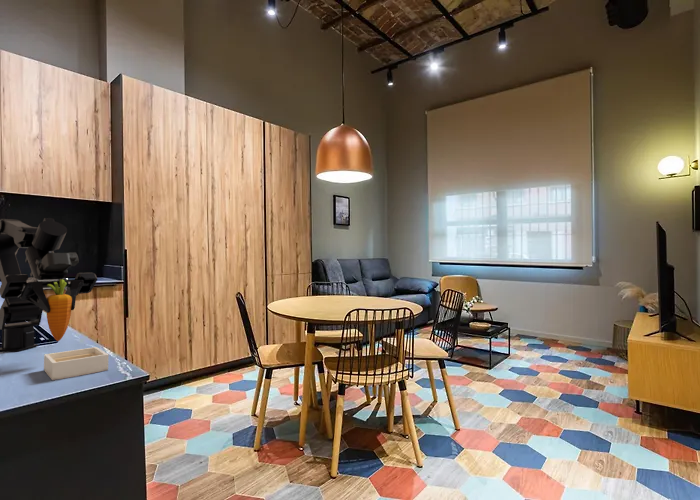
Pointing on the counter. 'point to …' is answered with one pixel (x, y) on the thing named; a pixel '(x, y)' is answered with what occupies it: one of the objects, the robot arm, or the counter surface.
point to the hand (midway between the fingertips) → (61, 310)
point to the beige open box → (75, 363)
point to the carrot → (59, 310)
